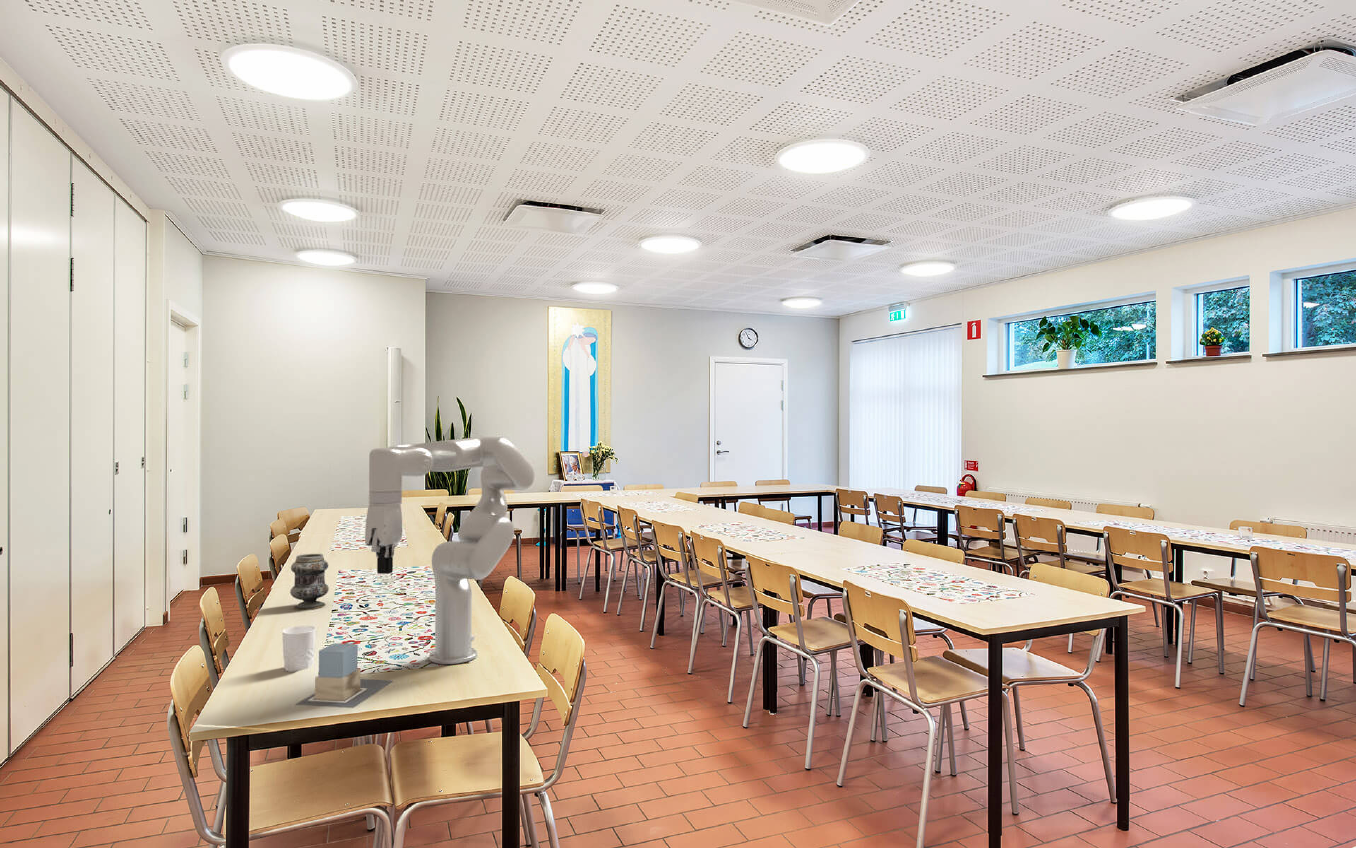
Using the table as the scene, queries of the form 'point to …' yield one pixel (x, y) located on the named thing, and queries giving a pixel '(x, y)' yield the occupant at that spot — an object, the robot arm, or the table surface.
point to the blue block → (338, 660)
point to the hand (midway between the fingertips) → (384, 573)
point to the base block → (337, 687)
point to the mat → (365, 692)
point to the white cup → (298, 647)
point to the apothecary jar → (309, 580)
